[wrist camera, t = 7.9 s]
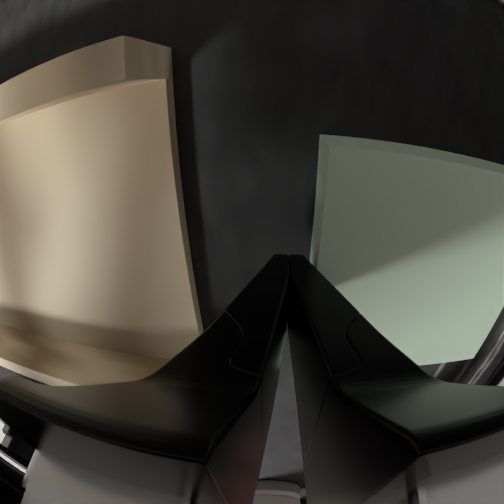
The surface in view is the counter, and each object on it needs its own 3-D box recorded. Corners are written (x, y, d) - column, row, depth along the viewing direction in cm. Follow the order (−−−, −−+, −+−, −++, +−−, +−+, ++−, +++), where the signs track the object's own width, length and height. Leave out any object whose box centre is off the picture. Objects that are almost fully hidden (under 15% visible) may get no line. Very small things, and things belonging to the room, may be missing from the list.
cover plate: (299, 329, 13) (300, 370, 11) (317, 131, 9) (329, 145, 7) (456, 325, 12) (473, 358, 10) (512, 166, 8) (547, 186, 6)
